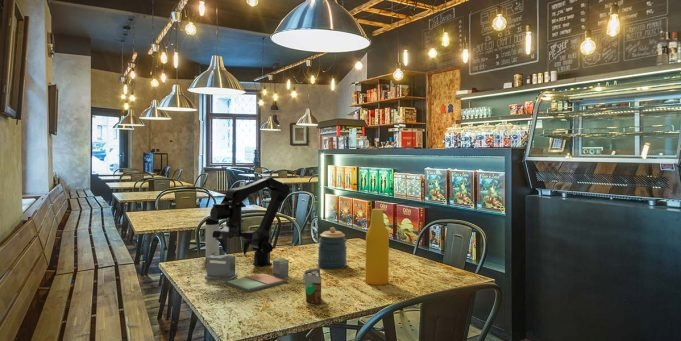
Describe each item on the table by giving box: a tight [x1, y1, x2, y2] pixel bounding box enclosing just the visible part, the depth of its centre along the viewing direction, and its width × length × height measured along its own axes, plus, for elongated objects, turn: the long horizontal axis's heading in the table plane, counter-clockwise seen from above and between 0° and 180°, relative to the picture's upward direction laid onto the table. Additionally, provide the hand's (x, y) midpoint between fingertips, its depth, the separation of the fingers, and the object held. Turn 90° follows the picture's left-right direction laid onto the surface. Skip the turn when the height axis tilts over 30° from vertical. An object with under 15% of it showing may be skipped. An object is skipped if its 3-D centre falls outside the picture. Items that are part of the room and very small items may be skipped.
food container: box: [302, 267, 322, 306], centre depth 161 cm, size 12×6×10 cm, turn 5°
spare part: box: [272, 257, 290, 279], centre depth 192 cm, size 5×5×7 cm
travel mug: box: [205, 217, 220, 260], centre depth 223 cm, size 6×7×20 cm
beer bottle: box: [364, 208, 390, 286], centre depth 184 cm, size 9×9×29 cm
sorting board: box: [224, 272, 288, 293], centre depth 182 cm, size 18×16×1 cm
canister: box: [317, 226, 348, 270], centre depth 210 cm, size 13×13×18 cm
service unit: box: [204, 254, 239, 281], centre depth 190 cm, size 7×11×8 cm, turn 76°
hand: (234, 254), depth 201 cm, fingers open, 9 cm apart
